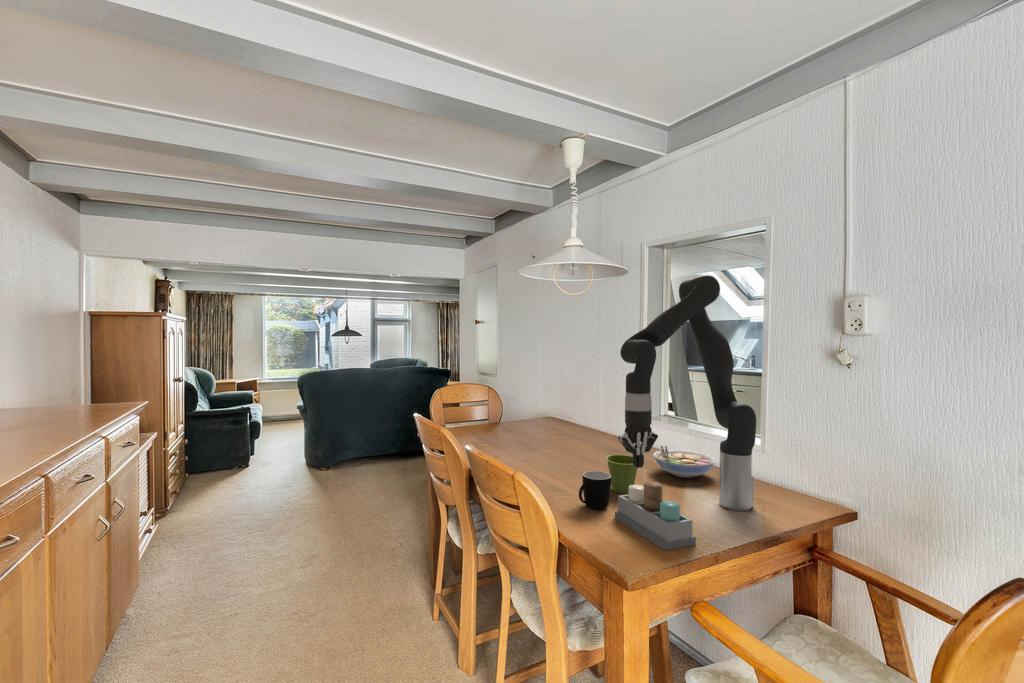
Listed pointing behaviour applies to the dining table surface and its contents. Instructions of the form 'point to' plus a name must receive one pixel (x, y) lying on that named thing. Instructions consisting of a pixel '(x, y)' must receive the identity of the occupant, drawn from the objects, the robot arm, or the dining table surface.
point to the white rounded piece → (636, 493)
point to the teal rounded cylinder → (670, 511)
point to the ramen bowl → (684, 462)
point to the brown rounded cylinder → (652, 496)
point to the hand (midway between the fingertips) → (638, 466)
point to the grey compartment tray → (655, 525)
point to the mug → (596, 489)
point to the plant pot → (621, 472)
